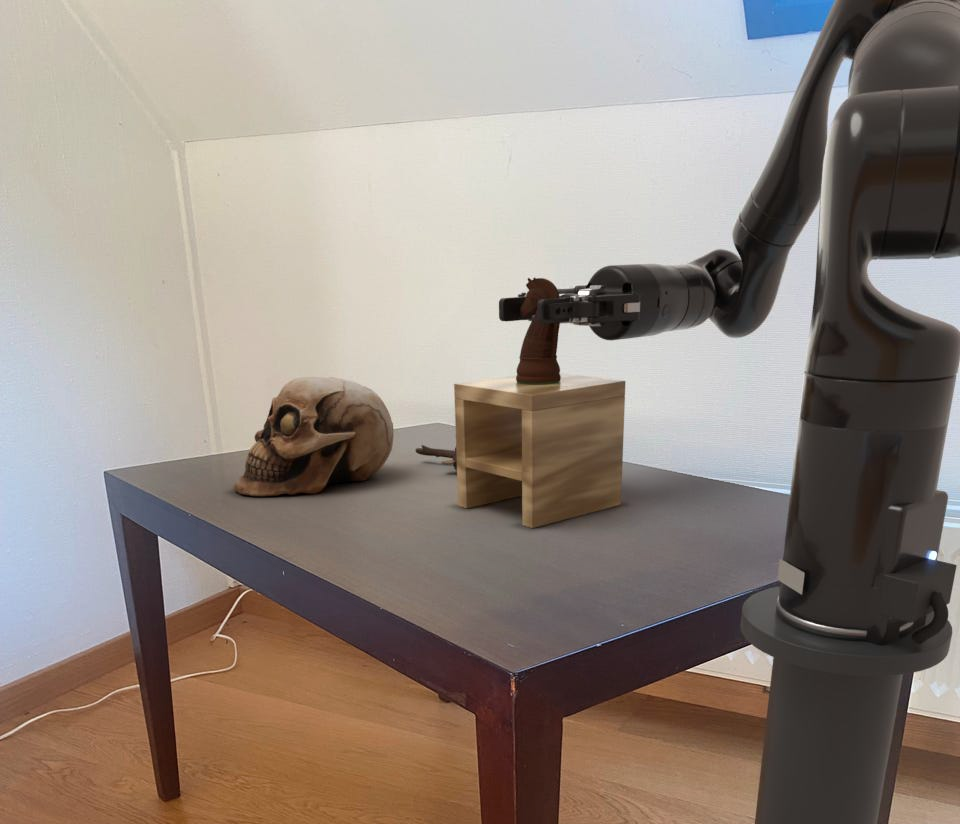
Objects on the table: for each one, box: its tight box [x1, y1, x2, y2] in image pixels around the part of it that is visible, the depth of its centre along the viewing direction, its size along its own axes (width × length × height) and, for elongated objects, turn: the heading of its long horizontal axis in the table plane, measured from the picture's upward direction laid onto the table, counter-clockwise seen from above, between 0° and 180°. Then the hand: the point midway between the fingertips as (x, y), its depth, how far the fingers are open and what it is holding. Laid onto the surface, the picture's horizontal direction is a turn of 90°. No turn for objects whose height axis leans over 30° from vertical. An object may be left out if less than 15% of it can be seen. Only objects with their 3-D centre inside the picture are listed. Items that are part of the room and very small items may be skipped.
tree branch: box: [415, 444, 457, 472], centre depth 118 cm, size 18×4×14 cm
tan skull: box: [233, 376, 394, 497], centre depth 110 cm, size 16×17×13 cm
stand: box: [453, 372, 626, 529], centre depth 97 cm, size 12×13×13 cm
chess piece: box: [515, 276, 561, 385], centre depth 92 cm, size 5×5×10 cm
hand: (520, 310), depth 90 cm, fingers open, 5 cm apart
